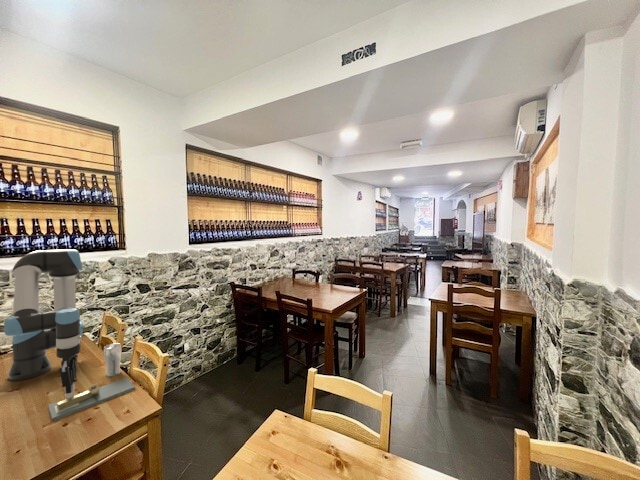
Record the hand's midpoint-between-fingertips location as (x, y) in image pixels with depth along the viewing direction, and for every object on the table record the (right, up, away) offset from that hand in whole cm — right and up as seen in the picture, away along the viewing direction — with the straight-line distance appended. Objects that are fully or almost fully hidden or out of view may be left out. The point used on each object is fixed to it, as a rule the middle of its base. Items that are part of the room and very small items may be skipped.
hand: (70, 398), depth 117 cm
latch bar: (+4, -1, 0) cm, 4 cm away
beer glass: (0, -2, +24) cm, 24 cm away
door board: (+7, -2, +4) cm, 8 cm away
